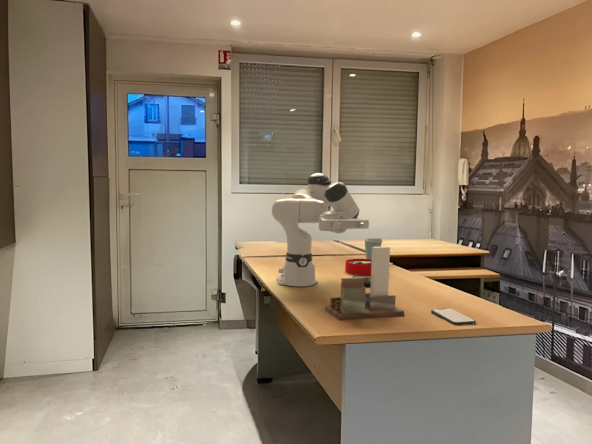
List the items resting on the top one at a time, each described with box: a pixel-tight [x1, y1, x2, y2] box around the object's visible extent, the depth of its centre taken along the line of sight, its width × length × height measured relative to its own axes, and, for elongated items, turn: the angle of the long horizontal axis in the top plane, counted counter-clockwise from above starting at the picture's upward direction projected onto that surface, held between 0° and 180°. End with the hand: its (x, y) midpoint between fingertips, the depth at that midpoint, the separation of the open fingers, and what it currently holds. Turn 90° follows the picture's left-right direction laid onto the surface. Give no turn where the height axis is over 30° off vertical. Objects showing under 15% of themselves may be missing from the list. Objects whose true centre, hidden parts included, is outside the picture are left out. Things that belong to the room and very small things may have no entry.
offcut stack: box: [340, 277, 367, 314], centre depth 164 cm, size 3×8×12 cm, turn 107°
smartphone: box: [430, 307, 477, 326], centre depth 166 cm, size 9×2×16 cm
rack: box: [324, 292, 405, 321], centre depth 170 cm, size 14×25×6 cm, turn 107°
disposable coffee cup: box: [364, 237, 383, 259], centre depth 279 cm, size 11×11×15 cm
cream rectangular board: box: [369, 246, 391, 296], centre depth 172 cm, size 2×6×22 cm, turn 107°
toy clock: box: [344, 258, 372, 277], centre depth 248 cm, size 20×6×20 cm
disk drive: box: [351, 275, 371, 289], centre depth 220 cm, size 10×3×15 cm
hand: (351, 225), depth 184 cm, fingers open, 8 cm apart
